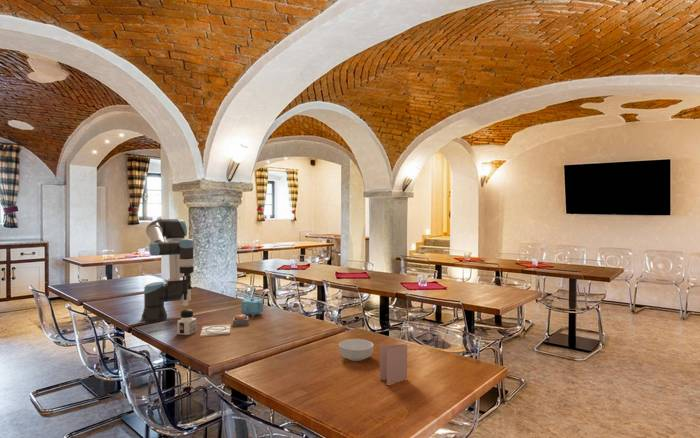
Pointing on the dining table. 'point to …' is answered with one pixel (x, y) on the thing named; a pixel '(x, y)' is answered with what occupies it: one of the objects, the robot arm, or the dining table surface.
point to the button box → (240, 322)
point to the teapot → (252, 306)
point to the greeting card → (393, 363)
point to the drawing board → (215, 330)
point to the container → (186, 323)
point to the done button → (240, 317)
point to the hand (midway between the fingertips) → (186, 302)
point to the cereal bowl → (356, 349)
